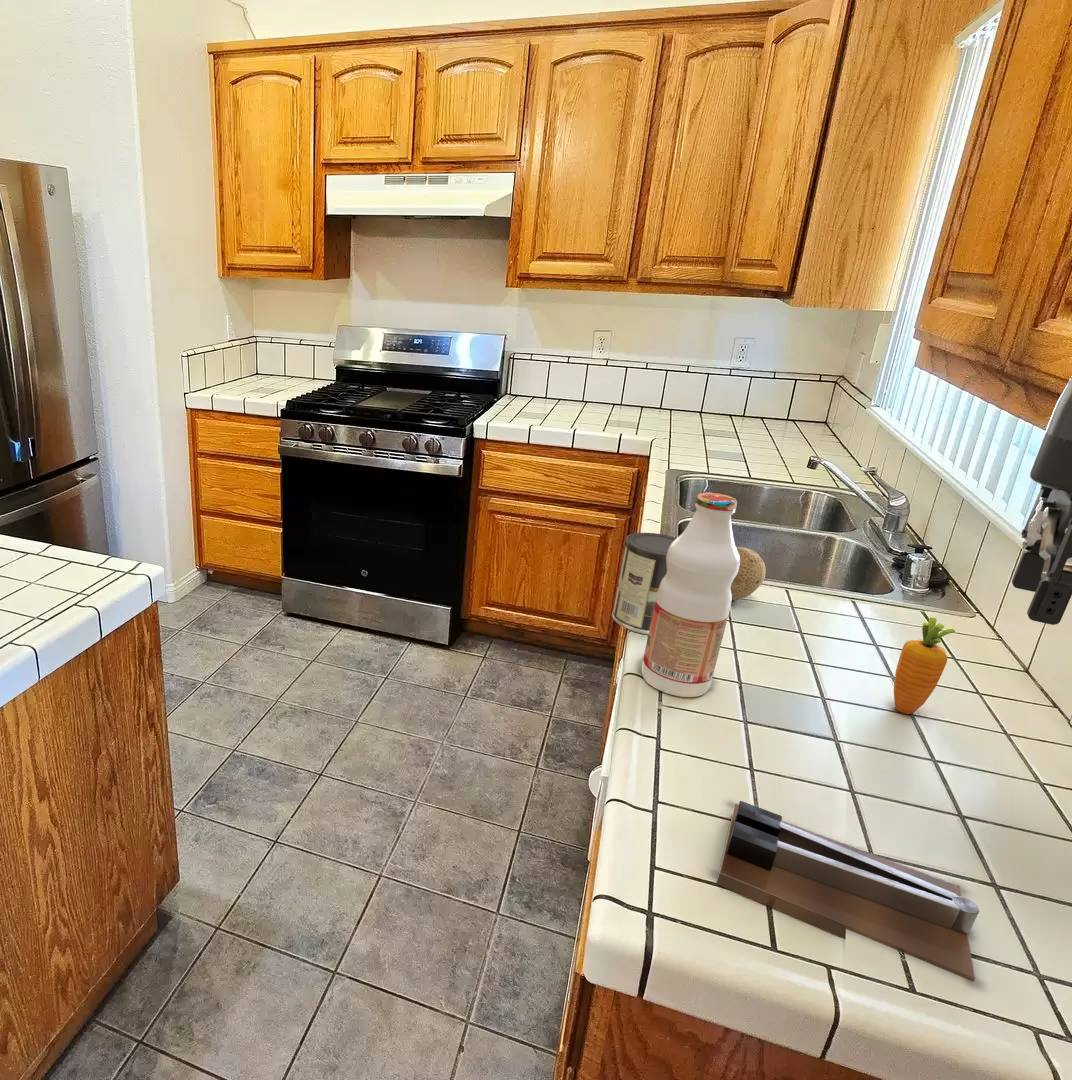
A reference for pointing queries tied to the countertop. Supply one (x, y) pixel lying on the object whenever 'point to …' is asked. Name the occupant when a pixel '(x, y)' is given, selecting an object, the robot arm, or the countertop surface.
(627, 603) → the coffee can
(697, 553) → the fruit juice
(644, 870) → the countertop surface
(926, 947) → the board
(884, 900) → the tongs
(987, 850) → the countertop surface
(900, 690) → the carrot
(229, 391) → the countertop surface
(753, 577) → the natural sponge
